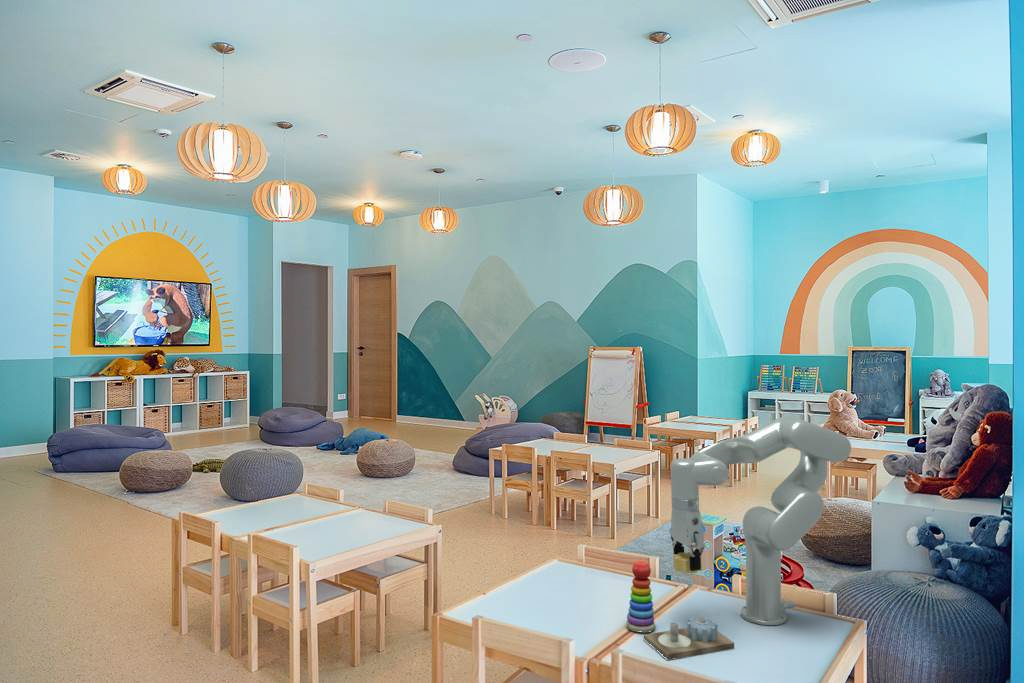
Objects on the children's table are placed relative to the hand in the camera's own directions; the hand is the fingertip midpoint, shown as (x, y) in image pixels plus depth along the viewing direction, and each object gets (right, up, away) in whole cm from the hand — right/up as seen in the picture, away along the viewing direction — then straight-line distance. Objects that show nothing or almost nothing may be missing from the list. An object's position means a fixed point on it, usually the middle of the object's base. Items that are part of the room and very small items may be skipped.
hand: (687, 564), depth 197 cm
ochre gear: (0, -1, 0) cm, 1 cm away
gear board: (-3, -17, -12) cm, 21 cm away
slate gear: (+1, -16, -11) cm, 19 cm away
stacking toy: (-13, -17, -2) cm, 22 cm away
